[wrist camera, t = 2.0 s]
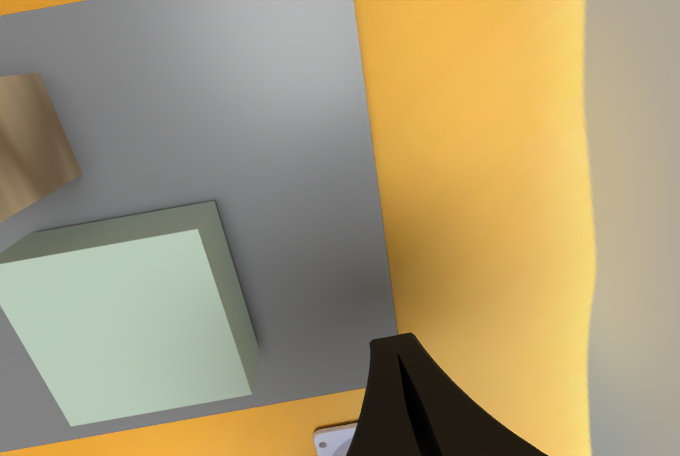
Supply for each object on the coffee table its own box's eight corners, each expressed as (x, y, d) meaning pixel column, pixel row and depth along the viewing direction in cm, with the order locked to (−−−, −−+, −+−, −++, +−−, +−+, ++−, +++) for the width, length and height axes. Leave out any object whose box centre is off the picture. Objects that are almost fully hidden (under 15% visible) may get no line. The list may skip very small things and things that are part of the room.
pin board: (395, 350, 25) (404, 380, 23) (-1, 420, 25) (-31, 457, 23) (342, -35, 17) (347, -46, 15) (-237, 68, 17) (-320, 72, 15)
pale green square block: (259, 349, 21) (251, 394, 19) (101, 377, 21) (71, 426, 19) (214, 200, 18) (197, 229, 15) (28, 233, 18) (-22, 267, 15)
